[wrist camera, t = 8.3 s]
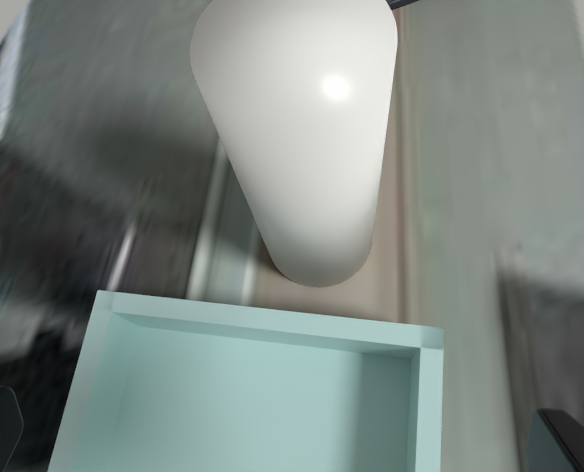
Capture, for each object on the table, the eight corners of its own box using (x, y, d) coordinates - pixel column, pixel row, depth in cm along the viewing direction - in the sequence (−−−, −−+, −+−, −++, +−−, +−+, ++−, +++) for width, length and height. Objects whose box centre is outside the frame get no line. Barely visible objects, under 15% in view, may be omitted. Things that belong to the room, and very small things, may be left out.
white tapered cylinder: (367, 292, 23) (390, 135, 11) (259, 281, 24) (170, 122, 12) (375, 193, 25) (402, -36, 13) (274, 185, 26) (211, -39, 14)
